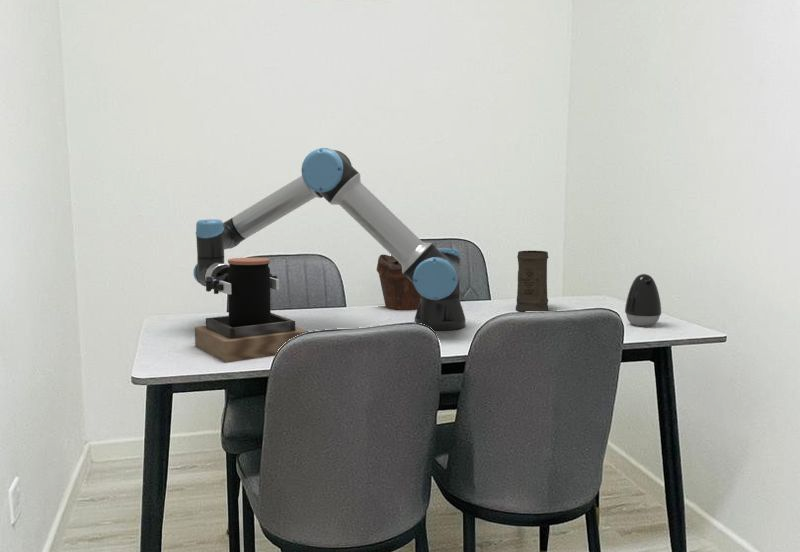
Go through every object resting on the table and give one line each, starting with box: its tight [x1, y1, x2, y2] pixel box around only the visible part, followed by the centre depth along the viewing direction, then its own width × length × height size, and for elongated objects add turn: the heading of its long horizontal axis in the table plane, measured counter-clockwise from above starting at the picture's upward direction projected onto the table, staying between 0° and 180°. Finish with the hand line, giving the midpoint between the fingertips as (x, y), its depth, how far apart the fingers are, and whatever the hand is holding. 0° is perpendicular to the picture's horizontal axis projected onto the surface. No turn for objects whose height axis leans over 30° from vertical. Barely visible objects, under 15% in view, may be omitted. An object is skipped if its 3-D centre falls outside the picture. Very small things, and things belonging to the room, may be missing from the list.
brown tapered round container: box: [376, 254, 420, 311], centre depth 257 cm, size 18×20×18 cm
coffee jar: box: [227, 257, 272, 328], centre depth 195 cm, size 11×11×18 cm
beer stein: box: [515, 250, 549, 313], centre depth 251 cm, size 15×11×20 cm
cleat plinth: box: [194, 312, 309, 363], centre depth 196 cm, size 22×22×8 cm
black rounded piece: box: [624, 273, 662, 328], centre depth 223 cm, size 10×10×15 cm
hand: (254, 286), depth 191 cm, fingers open, 12 cm apart
